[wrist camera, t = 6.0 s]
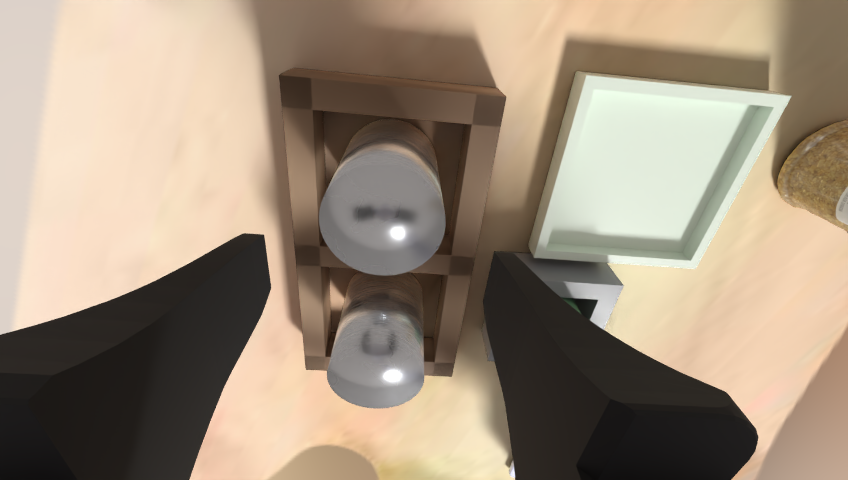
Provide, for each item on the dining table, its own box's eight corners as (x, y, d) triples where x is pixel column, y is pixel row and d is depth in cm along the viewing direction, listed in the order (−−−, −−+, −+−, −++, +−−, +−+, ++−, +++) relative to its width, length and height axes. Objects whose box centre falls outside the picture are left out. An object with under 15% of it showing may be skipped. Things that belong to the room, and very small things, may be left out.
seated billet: (419, 325, 24) (420, 410, 19) (347, 321, 24) (329, 406, 19) (425, 266, 22) (428, 346, 17) (346, 261, 22) (324, 341, 17)
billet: (448, 133, 18) (462, 182, 13) (423, 215, 20) (426, 285, 15) (353, 107, 18) (328, 149, 12) (338, 195, 20) (311, 261, 15)
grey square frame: (572, 335, 25) (587, 365, 23) (481, 330, 25) (487, 360, 23) (603, 258, 22) (623, 285, 20) (499, 251, 22) (509, 278, 20)
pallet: (449, 351, 26) (451, 376, 24) (313, 344, 25) (305, 369, 23) (497, 88, 17) (506, 97, 15) (293, 68, 17) (279, 74, 15)
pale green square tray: (682, 256, 22) (695, 268, 21) (528, 245, 22) (533, 257, 20) (769, 90, 17) (791, 96, 16) (576, 71, 17) (586, 75, 16)
